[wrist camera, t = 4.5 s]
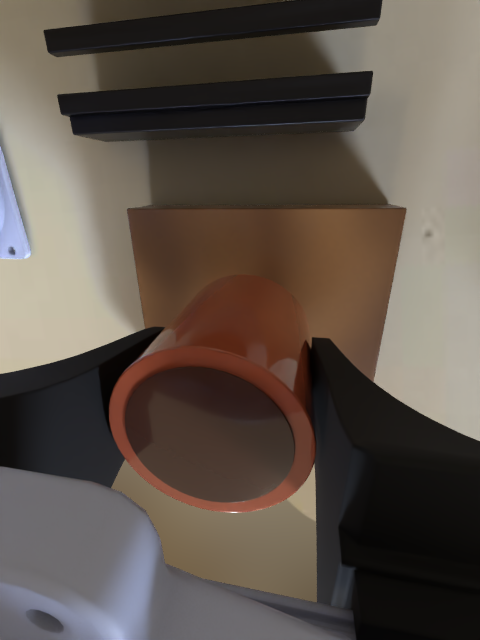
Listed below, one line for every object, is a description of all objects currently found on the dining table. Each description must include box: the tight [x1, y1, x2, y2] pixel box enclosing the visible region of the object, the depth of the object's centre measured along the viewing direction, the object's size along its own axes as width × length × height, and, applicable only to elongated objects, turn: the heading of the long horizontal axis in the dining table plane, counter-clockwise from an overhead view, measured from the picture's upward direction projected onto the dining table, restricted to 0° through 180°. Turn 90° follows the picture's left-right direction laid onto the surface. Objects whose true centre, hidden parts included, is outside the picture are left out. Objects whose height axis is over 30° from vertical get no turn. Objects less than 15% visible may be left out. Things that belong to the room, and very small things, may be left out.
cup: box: [109, 274, 316, 513], centre depth 10 cm, size 5×5×6 cm
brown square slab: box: [127, 204, 406, 382], centre depth 16 cm, size 12×10×2 cm
